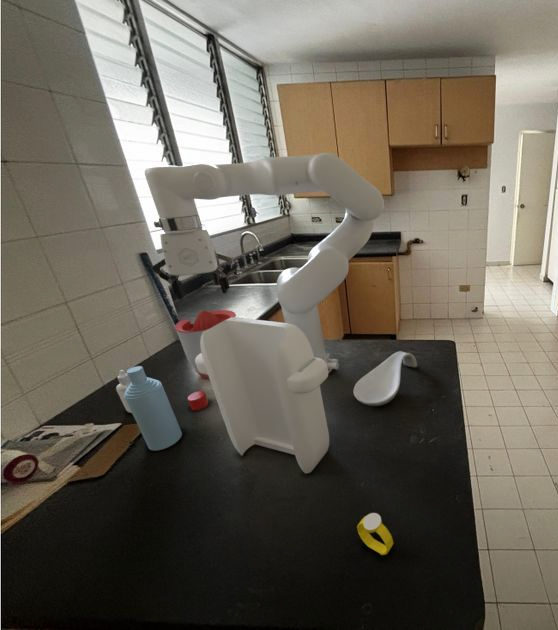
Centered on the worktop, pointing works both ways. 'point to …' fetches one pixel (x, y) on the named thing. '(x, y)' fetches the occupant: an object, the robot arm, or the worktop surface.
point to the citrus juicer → (199, 332)
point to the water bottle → (151, 410)
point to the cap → (198, 400)
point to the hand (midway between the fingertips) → (204, 294)
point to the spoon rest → (383, 380)
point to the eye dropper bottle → (123, 388)
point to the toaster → (267, 387)
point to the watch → (375, 525)
